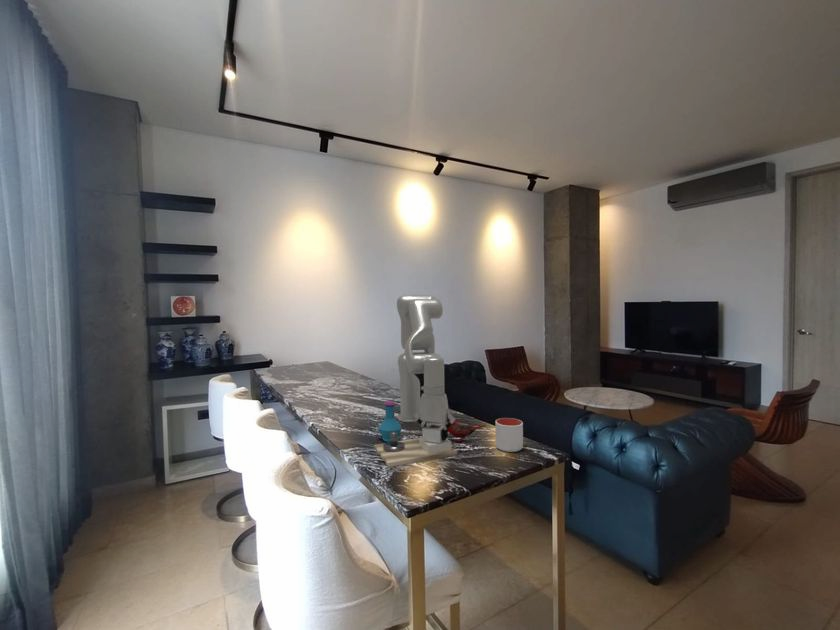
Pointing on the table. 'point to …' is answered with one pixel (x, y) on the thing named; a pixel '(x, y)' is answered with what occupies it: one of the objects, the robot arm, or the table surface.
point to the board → (410, 454)
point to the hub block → (435, 446)
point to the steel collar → (432, 433)
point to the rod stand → (393, 444)
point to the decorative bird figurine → (461, 429)
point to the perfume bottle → (389, 422)
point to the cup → (509, 434)
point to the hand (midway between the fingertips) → (434, 437)
